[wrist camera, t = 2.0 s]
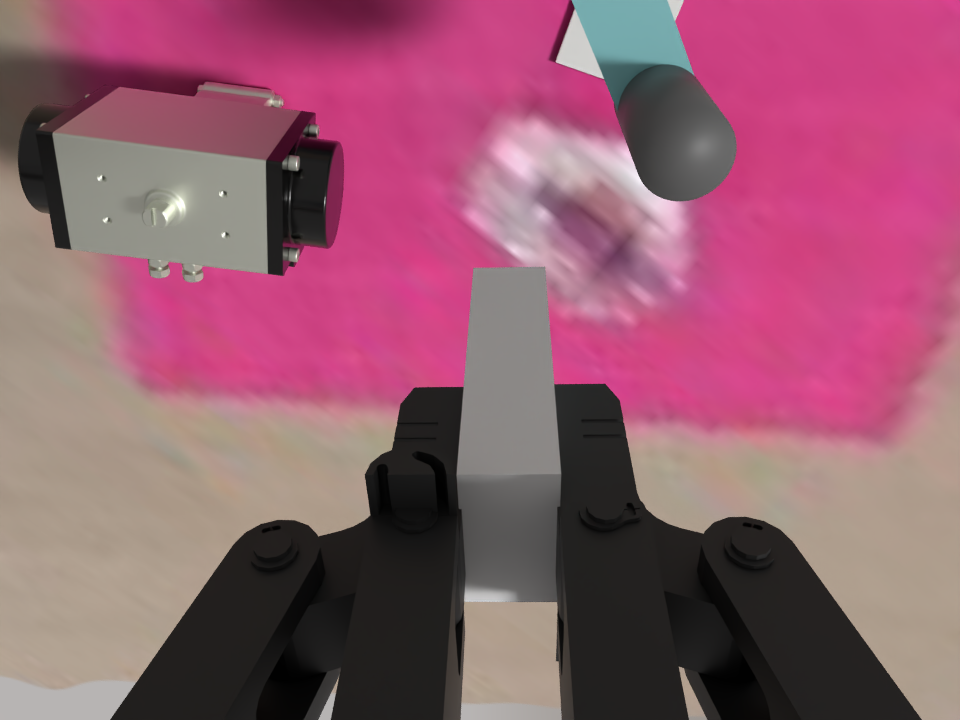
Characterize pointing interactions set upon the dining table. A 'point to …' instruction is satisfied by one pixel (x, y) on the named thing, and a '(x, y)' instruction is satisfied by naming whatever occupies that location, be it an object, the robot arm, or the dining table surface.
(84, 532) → the dining table surface
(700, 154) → the crank handle
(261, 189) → the pneumatic valve
